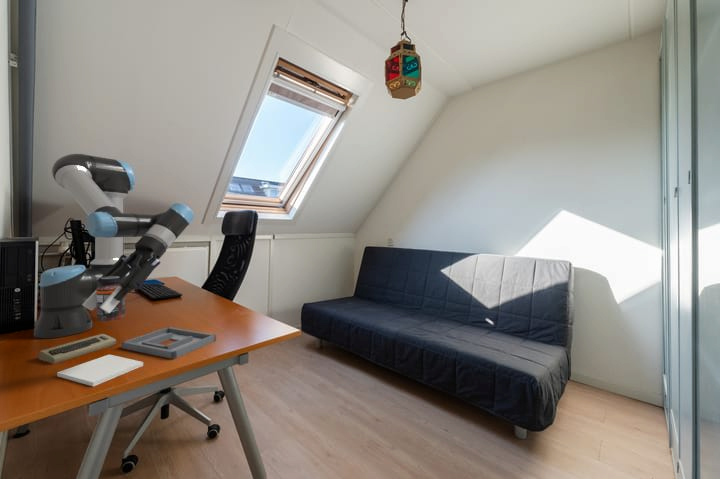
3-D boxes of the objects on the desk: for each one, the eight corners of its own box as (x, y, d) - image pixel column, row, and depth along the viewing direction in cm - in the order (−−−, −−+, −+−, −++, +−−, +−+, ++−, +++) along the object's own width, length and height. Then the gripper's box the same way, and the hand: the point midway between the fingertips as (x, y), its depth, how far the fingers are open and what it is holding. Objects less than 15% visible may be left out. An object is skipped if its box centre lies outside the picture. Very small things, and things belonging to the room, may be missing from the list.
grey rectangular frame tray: (121, 348, 96) (121, 342, 96) (168, 332, 111) (168, 326, 111) (173, 359, 89) (173, 352, 89) (216, 340, 104) (216, 334, 104)
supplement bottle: (121, 314, 87) (121, 274, 86) (128, 318, 83) (128, 277, 82) (94, 319, 82) (93, 277, 81) (100, 323, 78) (99, 279, 78)
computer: (53, 365, 84) (53, 354, 84) (38, 360, 87) (38, 349, 87) (116, 346, 99) (116, 335, 99) (101, 342, 102) (101, 332, 102)
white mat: (57, 376, 78) (57, 372, 78) (109, 357, 89) (109, 354, 89) (93, 386, 73) (93, 382, 73) (143, 365, 84) (143, 362, 84)
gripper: (186, 252, 93) (132, 320, 78) (141, 249, 99) (83, 312, 84) (170, 235, 88) (109, 304, 73) (124, 233, 94) (59, 297, 79)
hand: (95, 308), depth 79 cm, fingers closed on supplement bottle, 6 cm apart
